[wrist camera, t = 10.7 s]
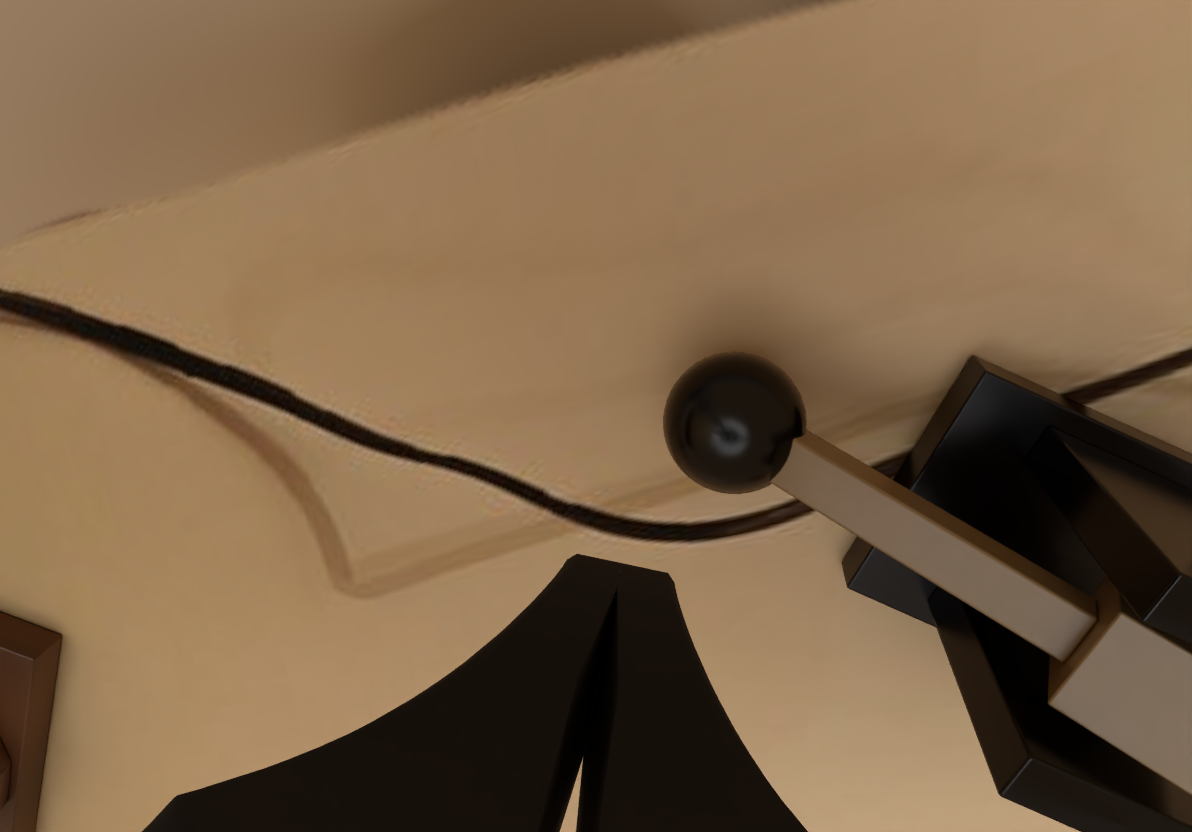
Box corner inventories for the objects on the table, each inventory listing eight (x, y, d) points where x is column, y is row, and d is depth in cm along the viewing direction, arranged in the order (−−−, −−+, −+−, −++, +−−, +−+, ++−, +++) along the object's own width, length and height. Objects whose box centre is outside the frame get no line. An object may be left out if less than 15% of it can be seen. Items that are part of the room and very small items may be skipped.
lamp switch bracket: (840, 562, 23) (888, 775, 16) (971, 353, 20) (1093, 498, 14) (1128, 691, 23) (1298, 955, 16) (1290, 498, 21) (1566, 711, 14)
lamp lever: (672, 431, 22) (618, 460, 19) (728, 320, 20) (678, 334, 18) (1172, 742, 18) (1190, 830, 15) (1274, 627, 17) (1313, 702, 14)
